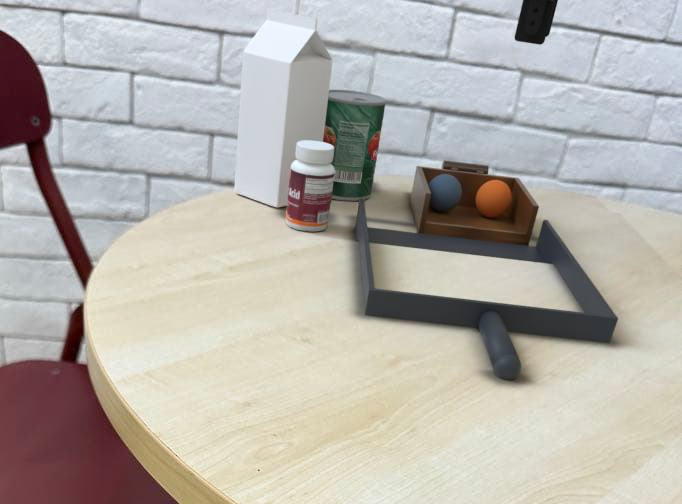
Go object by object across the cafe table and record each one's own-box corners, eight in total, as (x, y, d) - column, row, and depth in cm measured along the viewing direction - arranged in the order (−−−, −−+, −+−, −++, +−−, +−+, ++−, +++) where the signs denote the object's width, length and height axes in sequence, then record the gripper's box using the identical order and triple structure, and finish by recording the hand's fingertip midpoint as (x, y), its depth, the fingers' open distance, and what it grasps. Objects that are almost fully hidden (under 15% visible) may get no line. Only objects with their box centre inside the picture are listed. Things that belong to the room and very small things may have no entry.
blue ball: (455, 210, 104) (462, 173, 102) (460, 217, 100) (467, 179, 98) (421, 206, 104) (427, 169, 102) (424, 212, 100) (431, 175, 98)
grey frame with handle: (354, 228, 95) (359, 197, 93) (539, 249, 96) (547, 220, 94) (366, 378, 64) (374, 338, 62) (639, 409, 65) (655, 370, 63)
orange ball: (503, 216, 104) (511, 179, 102) (510, 222, 100) (518, 185, 98) (469, 212, 104) (477, 175, 102) (475, 218, 100) (483, 181, 98)
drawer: (505, 208, 109) (515, 167, 106) (528, 247, 96) (540, 201, 93) (407, 197, 108) (415, 155, 105) (417, 234, 96) (426, 188, 93)
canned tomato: (297, 184, 108) (308, 88, 101) (348, 182, 111) (362, 89, 105) (331, 202, 103) (344, 102, 96) (383, 199, 106) (399, 103, 100)
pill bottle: (280, 218, 95) (288, 138, 90) (320, 219, 97) (330, 140, 92) (290, 232, 92) (299, 149, 87) (332, 233, 93) (343, 151, 88)
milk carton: (276, 209, 98) (294, 18, 87) (233, 193, 102) (245, 8, 90) (316, 201, 103) (338, 18, 91) (273, 186, 106) (289, 8, 95)
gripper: (618, -162, 78) (562, 51, 88) (617, -146, 91) (568, 37, 101) (536, -171, 79) (490, 40, 89) (546, -153, 92) (505, 28, 103)
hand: (531, 38), depth 95 cm, fingers open, 9 cm apart
